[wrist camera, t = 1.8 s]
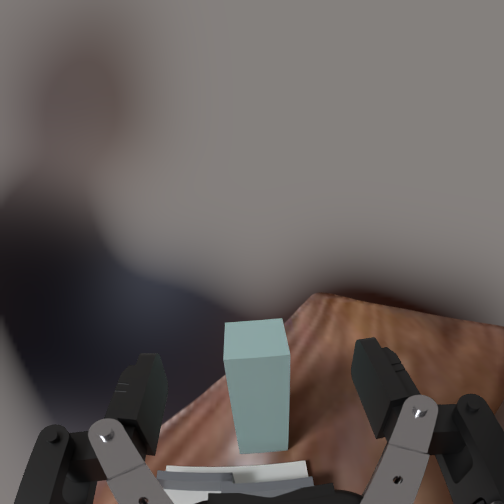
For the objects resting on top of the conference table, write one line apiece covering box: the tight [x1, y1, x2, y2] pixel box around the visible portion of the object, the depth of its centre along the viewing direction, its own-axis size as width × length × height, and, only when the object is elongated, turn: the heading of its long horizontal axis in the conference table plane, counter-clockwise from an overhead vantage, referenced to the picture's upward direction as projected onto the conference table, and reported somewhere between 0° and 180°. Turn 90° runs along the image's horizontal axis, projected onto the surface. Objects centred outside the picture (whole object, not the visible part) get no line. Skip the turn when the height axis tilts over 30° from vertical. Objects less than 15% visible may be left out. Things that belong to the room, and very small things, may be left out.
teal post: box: [224, 319, 290, 454], centre depth 28 cm, size 5×5×14 cm
